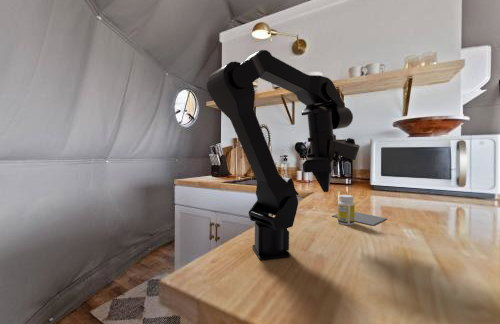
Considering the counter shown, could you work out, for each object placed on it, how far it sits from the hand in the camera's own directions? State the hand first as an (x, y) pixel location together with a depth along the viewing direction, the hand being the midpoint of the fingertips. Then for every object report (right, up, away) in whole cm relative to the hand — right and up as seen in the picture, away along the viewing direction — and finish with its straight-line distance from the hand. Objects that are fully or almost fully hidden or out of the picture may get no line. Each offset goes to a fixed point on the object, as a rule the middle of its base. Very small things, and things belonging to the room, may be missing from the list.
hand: (326, 191), depth 60 cm
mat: (+16, -11, +17) cm, 26 cm away
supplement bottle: (+10, -11, +11) cm, 18 cm away
